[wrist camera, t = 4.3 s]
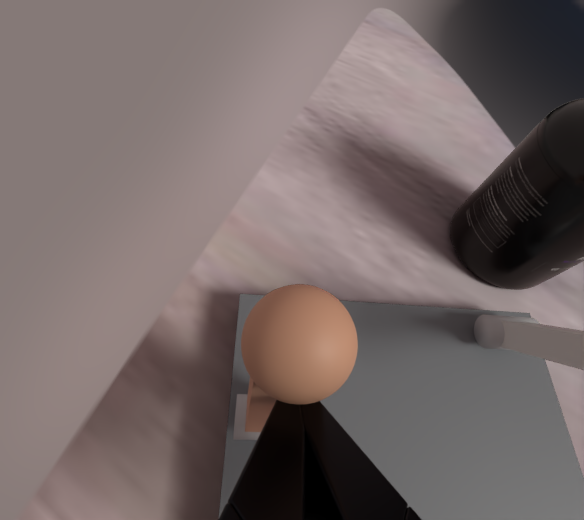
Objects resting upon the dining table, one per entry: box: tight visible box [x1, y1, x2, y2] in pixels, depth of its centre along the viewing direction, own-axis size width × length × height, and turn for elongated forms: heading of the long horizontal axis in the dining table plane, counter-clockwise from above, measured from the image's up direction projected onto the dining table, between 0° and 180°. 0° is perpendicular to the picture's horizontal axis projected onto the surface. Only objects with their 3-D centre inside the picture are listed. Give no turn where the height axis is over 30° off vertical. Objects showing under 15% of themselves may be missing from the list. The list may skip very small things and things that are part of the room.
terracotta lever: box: [233, 284, 358, 440], centre depth 10 cm, size 2×2×10 cm
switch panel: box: [219, 294, 584, 520], centre depth 16 cm, size 10×16×2 cm
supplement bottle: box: [450, 98, 584, 290], centre depth 18 cm, size 7×7×12 cm
